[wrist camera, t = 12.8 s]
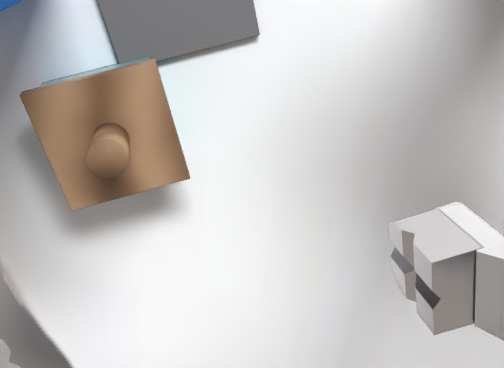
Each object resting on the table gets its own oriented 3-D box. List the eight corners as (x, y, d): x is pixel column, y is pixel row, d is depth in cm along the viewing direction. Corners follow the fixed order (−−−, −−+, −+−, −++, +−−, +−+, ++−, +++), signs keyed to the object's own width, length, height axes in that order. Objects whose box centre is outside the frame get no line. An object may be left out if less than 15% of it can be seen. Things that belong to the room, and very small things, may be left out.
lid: (154, 58, 36) (156, 74, 32) (189, 173, 41) (194, 201, 37) (22, 91, 36) (5, 112, 31) (72, 205, 40) (64, 237, 36)
